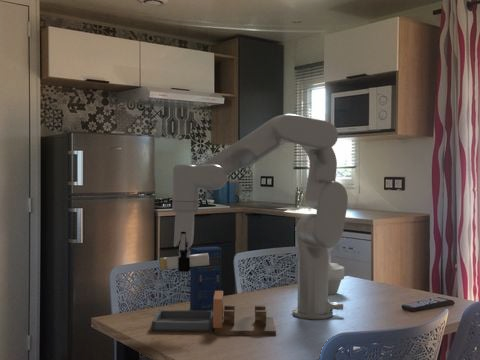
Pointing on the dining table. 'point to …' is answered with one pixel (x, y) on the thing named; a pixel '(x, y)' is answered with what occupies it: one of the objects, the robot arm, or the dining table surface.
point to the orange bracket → (218, 309)
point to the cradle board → (246, 323)
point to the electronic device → (205, 279)
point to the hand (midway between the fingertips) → (184, 269)
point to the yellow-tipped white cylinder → (194, 261)
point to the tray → (183, 321)
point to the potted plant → (334, 274)
